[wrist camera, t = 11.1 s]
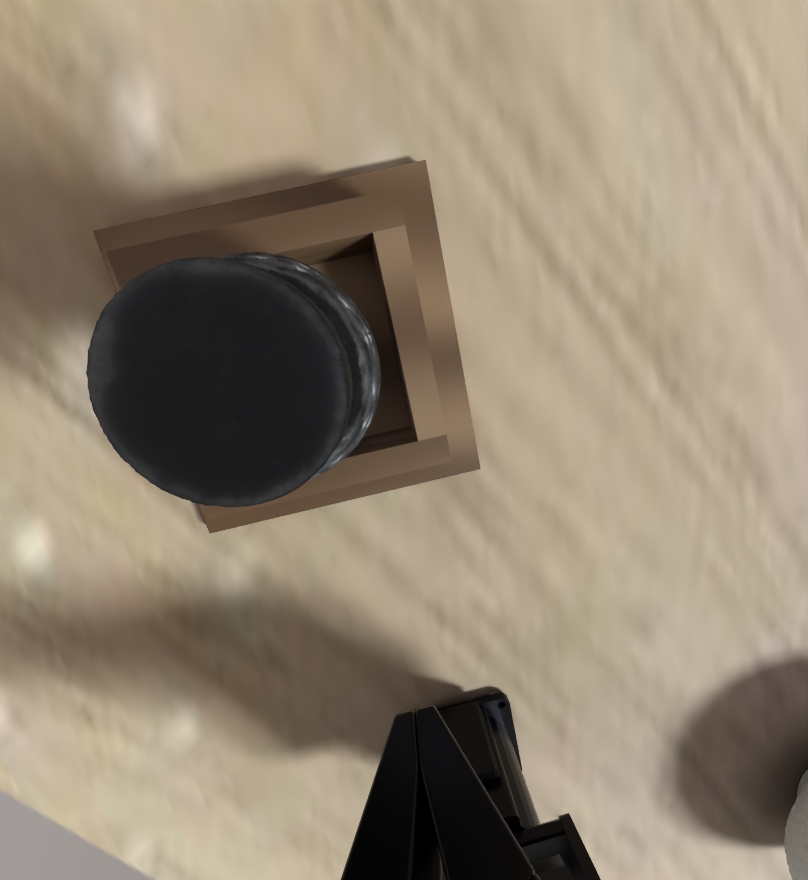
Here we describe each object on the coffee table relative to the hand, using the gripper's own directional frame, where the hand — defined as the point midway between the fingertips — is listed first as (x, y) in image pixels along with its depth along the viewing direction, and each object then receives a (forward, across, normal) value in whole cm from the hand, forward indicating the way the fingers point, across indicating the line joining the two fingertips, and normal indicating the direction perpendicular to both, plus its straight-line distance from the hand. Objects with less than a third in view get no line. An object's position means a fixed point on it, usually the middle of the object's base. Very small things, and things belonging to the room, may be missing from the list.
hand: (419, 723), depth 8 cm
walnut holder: (+12, +2, -8) cm, 15 cm away
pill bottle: (+12, +2, -8) cm, 14 cm away
